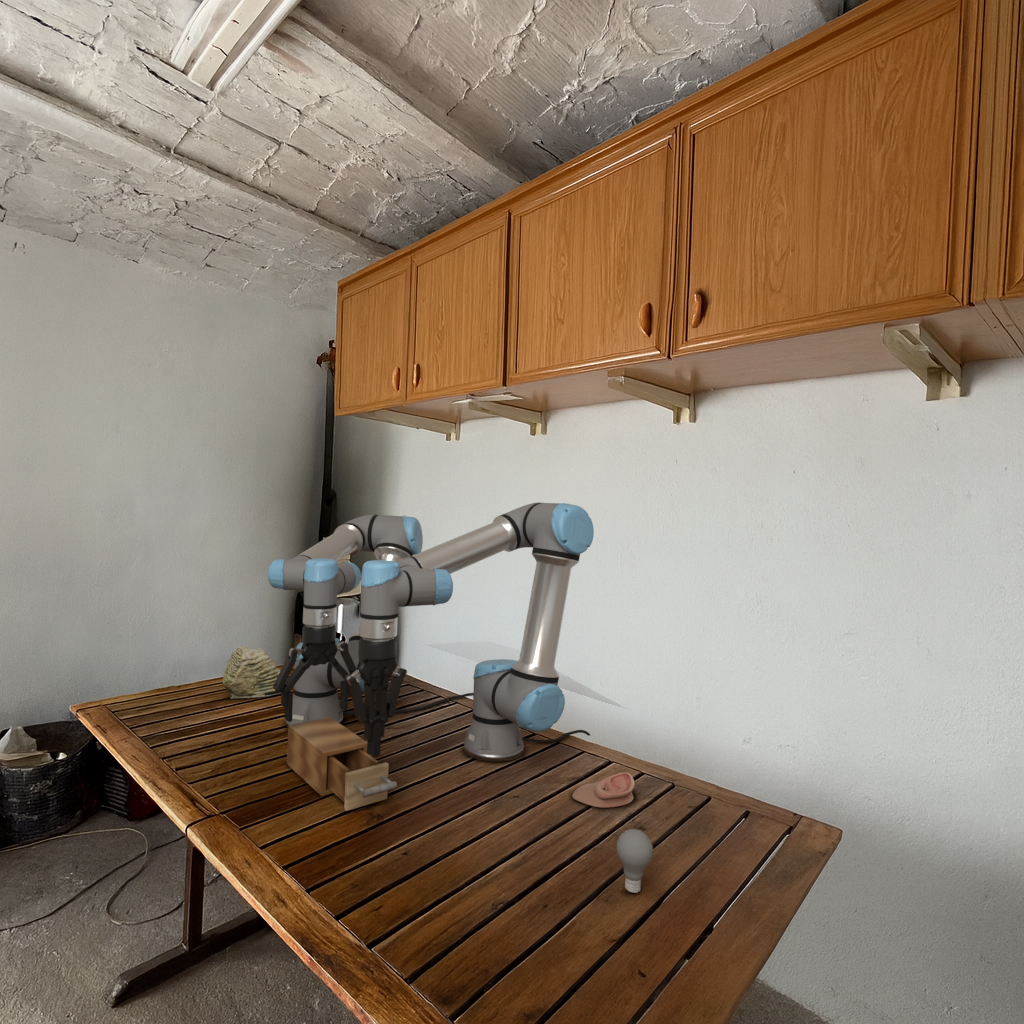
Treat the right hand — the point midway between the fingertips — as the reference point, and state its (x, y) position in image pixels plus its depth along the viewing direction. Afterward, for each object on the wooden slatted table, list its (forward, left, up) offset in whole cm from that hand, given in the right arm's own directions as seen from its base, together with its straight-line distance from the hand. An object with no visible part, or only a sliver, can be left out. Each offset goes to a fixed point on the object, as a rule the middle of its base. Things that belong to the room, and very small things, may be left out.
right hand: (373, 753), depth 128 cm
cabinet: (+6, -21, -12) cm, 25 cm away
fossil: (+18, -86, -12) cm, 88 cm away
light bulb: (-35, +41, -12) cm, 55 cm away
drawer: (+2, -8, -11) cm, 14 cm away
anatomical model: (-49, +10, -12) cm, 51 cm away
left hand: (+7, -27, 0) cm, 28 cm away
